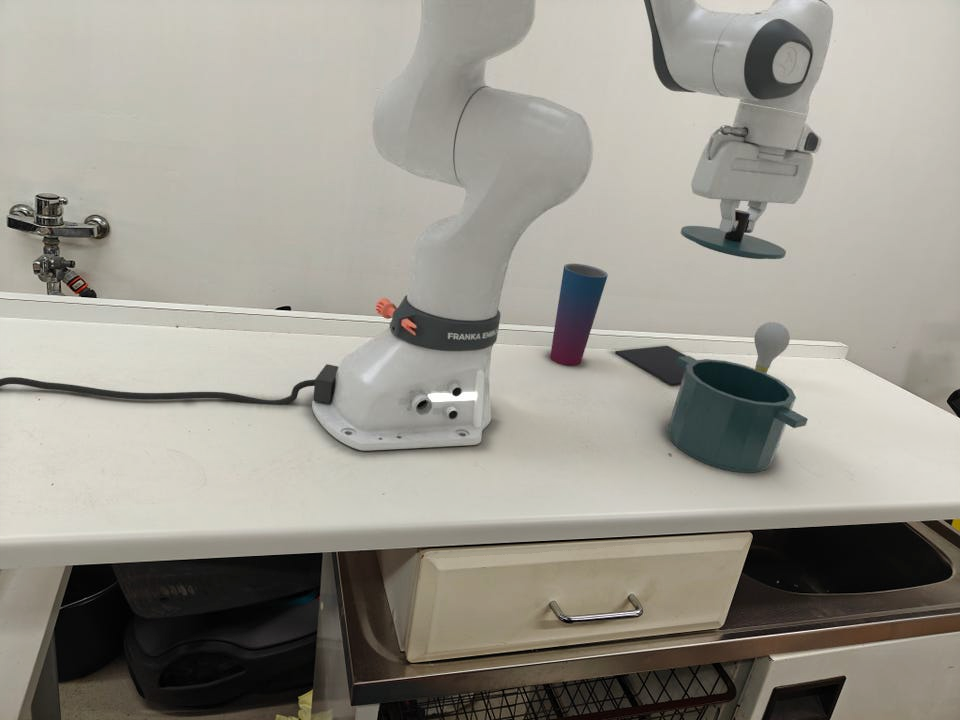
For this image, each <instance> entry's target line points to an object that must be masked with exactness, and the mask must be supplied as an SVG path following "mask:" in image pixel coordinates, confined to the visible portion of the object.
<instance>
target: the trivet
mask: <svg viewBox="0 0 960 720" xmlns="http://www.w3.org/2000/svg"><path fill="white" fill-rule="evenodd" d="M614 353H615V354H616V355H618V356H619V357H621V358H622V359H624V360H626V361H628V362H630V363H632V364H634V366H636V367H638V368H640V369H641V370H643V371H645V372H647V373H649V374H650V375H652V376H654V377H655V378H657V379H659V380H661V381H662V382H664V383H666V384H668V385H669V386H671V387H672V386H678V385H681V382H682V378H683V375H684V372H685V368H683V367H681V366H679V365H678V364H676V361H677V358H678V357H684V356H687V355H686V354H684V353H682V352H680V351H679V350H676V349H675V348H672V347H670V346H669V345H662V346H651V347H650V346H649V347H641V348H631V349H622V350H615V352H614Z"/></svg>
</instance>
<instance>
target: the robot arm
mask: <svg viewBox="0 0 960 720" xmlns="http://www.w3.org/2000/svg"><path fill="white" fill-rule="evenodd" d="M420 1H421V3H420V4H421V5H420V7H421V8H420V23H419V30H418V31H419V32H418V37H417V40H416V44H415V47H414V50H413V53H412V56H411V57H410V60H409V62H408V64H407V65H406V66H405V68H404V69H403V71H402V72H401V73H400V74H399V75H398V76H397V77H396V78H395V79H393V80H391V81H390V82H389V83H388V84H387V85H386V86H385V87H384V88H383V89H382V91H381V92H380V94H379V95H378V97H377V99H376V101H375V104H374V107H373V110H372V115H371V133H372V138H373V142H374V145H375V148H376V151H377V152H378V153H379V155H380V156H381V157H382V159H384V160H385V161H387V162H389V163H390V164H392V165H394V166H396V167H398V168H400V169H401V170H403V171H406V172H408V173H410V174H412V175H413V176H416V177H418V178H424V179H427V180H431V181H435V182H438V183H443V184H448V185H452V186H456V187H459V188H462V189H463V188H464V189H465V197H464V201H463V203H462V206H461V208H460V210H459V212H458V213H457V214H455V215H451V216H447V217H444V218H442V219H439V220H436V221H434V222H432V223H430V224H428V225H427V226H425V227H424V228H423V229H422V230H421V231H420V232H419V233H418V235H417V237H416V239H415V240H414V243H413V250H412V257H411V263H410V272H409V280H408V287H407V294H406V295H405V296H404V297H403V298H402V300H401V302H400V304H399V305H398V306H396V304H394V303H393V302H391V301H390V299H388V298H385V297H382V298H380V299H379V300H378V301H377V302H376V303H375V304H376V305H375V306H374V307H375V311H376V312H377V314H379V315H381V316H382V317H383V318H384V319H386V320H389V319H391V321H390V323H389V327H387V328H385V329H384V330H382V331H381V332H380V333H378V334H377V335H375V337H373V338H371V339H370V340H368V341H367V342H365V343H364V344H363V345H361V346H359V347H358V348H356V349H355V350H353V351H352V352H350V353H349V354H346V355H345V356H344V357H343V358H342V360H341V361H340V363H339V365H333V364H327V363H326V364H325V365H324V367H323V368H322V369H321V371H320V372H319V373H318V375H317V376H316V377H315V378H314V379H306V380H303V381H300V382H298V383H296V384H295V385H294V386H293V388H292V390H291V393H290V395H289V396H286V397H285V398H280V399H262V398H256V397H252V396H247V395H242V394H237V393H233V392H224V391H183V392H182V391H180V392H179V391H178V392H133V391H131V392H129V391H119V390H112V389H111V390H110V389H102V388H97V387H91V386H83V385H77V384H70V383H62V382H61V383H59V382H48V381H41V380H37V379H31V378H26V377H18V376H9V377H2V378H0V387H2V386H7V385H19V386H27V387H32V388H36V389H43V390H51V391H52V390H53V391H61V392H62V391H63V392H69V393H70V392H72V393H78V394H85V395H92V396H98V397H104V398H113V399H121V400H123V399H124V400H140V401H141V400H142V401H144V400H146V401H162V400H163V401H164V400H190V399H191V400H193V399H219V400H229V401H236V402H240V403H247V404H255V405H256V404H257V405H267V406H269V405H270V406H271V405H272V406H285V405H288V404H291V403H293V402H295V400H297V398H298V396H299V393H300V391H301V390H302V389H305V388H308V387H313V397H312V403H311V409H312V411H313V414H314V416H315V418H316V420H317V421H318V422H319V424H320V425H321V426H322V427H323V428H324V430H325V431H326V432H328V433H329V434H330V436H332V437H333V438H335V439H336V440H337V441H339V442H340V443H342V444H344V445H346V446H348V447H350V448H352V449H355V450H358V451H364V452H365V451H366V452H367V451H385V450H387V451H388V450H405V449H406V450H407V449H422V448H423V449H424V448H443V447H461V446H463V447H464V446H475V445H479V444H481V442H482V438H483V437H482V435H483V431H484V430H485V429H486V428H487V427H488V425H489V424H490V423H491V421H492V409H491V402H490V401H491V400H490V375H491V360H492V352H493V346H494V345H495V343H496V342H497V339H498V333H499V330H500V329H499V328H500V321H501V311H500V310H499V308H500V303H501V302H500V301H501V296H502V291H503V287H504V284H505V279H506V275H507V271H508V268H509V264H510V260H511V258H512V255H513V252H514V250H515V248H516V246H517V244H518V242H519V241H520V240H521V237H522V236H523V234H524V233H525V232H526V230H527V229H528V228H529V227H530V226H531V224H532V223H533V222H535V221H536V220H537V219H538V218H539V217H540V216H542V215H543V214H545V213H546V212H548V211H549V210H551V209H554V207H557V206H559V205H562V204H564V203H565V202H567V201H568V200H569V199H571V198H572V197H573V196H574V195H575V194H576V193H578V191H579V190H580V189H581V187H582V186H583V185H584V183H585V181H586V179H587V178H588V175H589V174H590V172H591V171H590V170H591V167H592V163H593V160H594V159H593V158H594V141H593V136H592V133H591V130H590V127H589V124H588V123H587V121H586V119H585V117H584V116H583V115H582V114H581V113H579V112H577V111H574V110H572V109H570V108H569V107H566V106H564V105H562V104H559V103H557V102H554V101H552V100H549V99H547V98H545V97H540V96H537V95H531V94H525V93H520V92H515V91H510V90H504V89H499V88H494V87H491V86H489V85H487V83H486V78H485V77H486V66H487V64H488V63H487V62H488V60H489V61H490V60H492V59H494V58H497V57H499V56H501V55H503V54H505V53H507V52H510V51H511V50H513V49H515V48H517V46H519V45H520V44H521V43H522V42H523V41H524V40H525V39H526V38H527V36H528V35H529V33H530V31H531V29H532V27H533V24H534V21H535V18H536V6H537V5H536V3H537V0H420ZM643 2H644V7H645V11H646V15H647V20H648V23H649V29H650V34H651V46H652V48H651V50H652V63H653V67H654V71H655V73H656V75H657V77H658V79H659V81H660V83H661V84H662V85H663V87H665V88H666V89H667V90H669V91H671V92H678V93H679V92H681V93H693V94H694V93H699V94H706V95H712V96H716V97H723V98H731V99H732V98H733V99H738V100H739V102H738V105H737V108H736V113H735V116H734V120H733V122H732V126H731V125H728V124H724V125H721V126H720V127H719V128H717V129H716V130H715V131H714V132H712V133H711V135H710V138H709V140H708V142H707V143H706V145H704V148H703V150H702V152H701V155H700V157H699V160H698V162H697V165H696V168H695V171H694V173H693V176H692V179H691V184H690V186H691V191H692V193H693V194H694V195H697V196H699V197H701V198H705V199H710V200H711V199H712V200H720V202H719V209H720V215H721V220H720V224H719V227H718V229H720V230H721V231H724V232H728V233H729V232H735V231H736V227H737V225H738V222H739V221H737V220H735V210H736V209H739V207H740V204H741V202H747V207H748V209H747V210H746V212H748V213H750V216H749V219H748V222H747V226H746V229H745V232H744V234H752V233H753V231H754V228H755V225H756V222H757V221H758V220H759V219H760V218H761V216H762V215H763V213H765V211H766V208H767V206H768V203H769V204H770V203H771V204H785V205H787V204H788V205H795V204H796V203H797V202H798V201H799V200H800V198H801V197H802V195H803V193H804V191H805V189H806V185H807V183H808V180H809V178H810V174H811V171H812V167H813V164H814V157H813V154H816V153H818V152H819V150H820V147H821V145H822V138H821V136H820V135H819V134H817V132H815V131H814V130H813V129H812V128H811V127H810V125H809V124H808V123H806V121H807V118H808V115H809V110H810V100H811V96H812V92H813V91H814V90H813V89H814V88H815V86H816V85H817V84H818V82H819V80H820V77H821V75H822V71H823V68H824V65H825V61H826V58H827V54H828V50H829V46H830V41H831V36H832V31H833V24H834V10H833V8H832V7H831V6H830V5H829V4H828V3H827V2H825V1H824V0H774V1H773V2H772V4H771V6H769V7H768V8H766V9H763V10H761V11H756V12H754V13H736V12H724V11H714V10H711V9H709V8H706V7H704V6H702V5H701V4H699V2H697V1H696V0H643Z"/></svg>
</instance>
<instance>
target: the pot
mask: <svg viewBox="0 0 960 720" xmlns="http://www.w3.org/2000/svg"><path fill="white" fill-rule="evenodd" d="M676 364H678V365H679V366H681V367H683V368H685V372H684V375H683V378H682V382H681V384H679V389H678V392H677V395H676V399H675V402H674V405H673V409H672V413H671V415H670V419H669V422H668V428H667V435H668V437H669V439H670V441H671V442H672V444H673V445H674V446H675V447H677V448H678V449H679V450H680V451H682V452H683V453H684V454H685V455H688V456H690V457H691V458H693V459H694V460H697V461H699V462H702V463H704V464H707V465H708V466H712V467H714V468H717V469H722V470H724V471H725V470H727V471H730V472H734V473H735V472H736V473H748V474H749V473H751V474H752V473H758V472H763V471H766V470H767V469H768V468H769V467H770V466H771V464H772V462H773V460H774V459H775V456H776V454H777V450H778V447H779V445H780V442H781V440H782V437H783V434H784V431H785V429H786V426H789V427H790V428H792V429H797V428H801V427H805V426H806V425H807V423H808V419H809V418H808V417H805V416H803V415H802V414H800V413H798V412H797V411H794V410H793V408H794V404H795V402H796V400H797V396H796V394H795V393H794V391H793V389H792V388H791V387H790V386H788V385H787V384H786V383H784V382H783V381H782V380H780V379H779V378H776V377H775V376H773V375H771V374H768V372H767V373H765V372H762V371H759V370H756V369H755V368H753V367H751V366H747V365H744V364H740V363H736V362H731V361H728V360H721V359H710V358H709V359H708V358H702V359H696V358H694V357H692V356H690V355H686V356H684V357H678V358H677V361H676Z"/></svg>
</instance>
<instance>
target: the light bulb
mask: <svg viewBox="0 0 960 720" xmlns="http://www.w3.org/2000/svg"><path fill="white" fill-rule="evenodd" d="M790 340H791V339H790V332H789V330H788V329H787V327H786V326H784V325H783V324H781V323H780V322H775V321H769V322H765V323H763V324H762V325H760V326H759V327H758V328H757V329H756V331H755V334H754V339H753V341H754V345H755V350H756V355H757V359H756V362H755V367H754V369H756V370H759V371H762V372H765V373H767V374H768V371H769V369H770V367H771V365H772V363H773V361H774V360H775V359H776V358H777V357H778V356H780V355H781V354H782V353H783V352H784V351H785V350H786V349H787V348H788V346H789V344H790Z"/></svg>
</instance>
